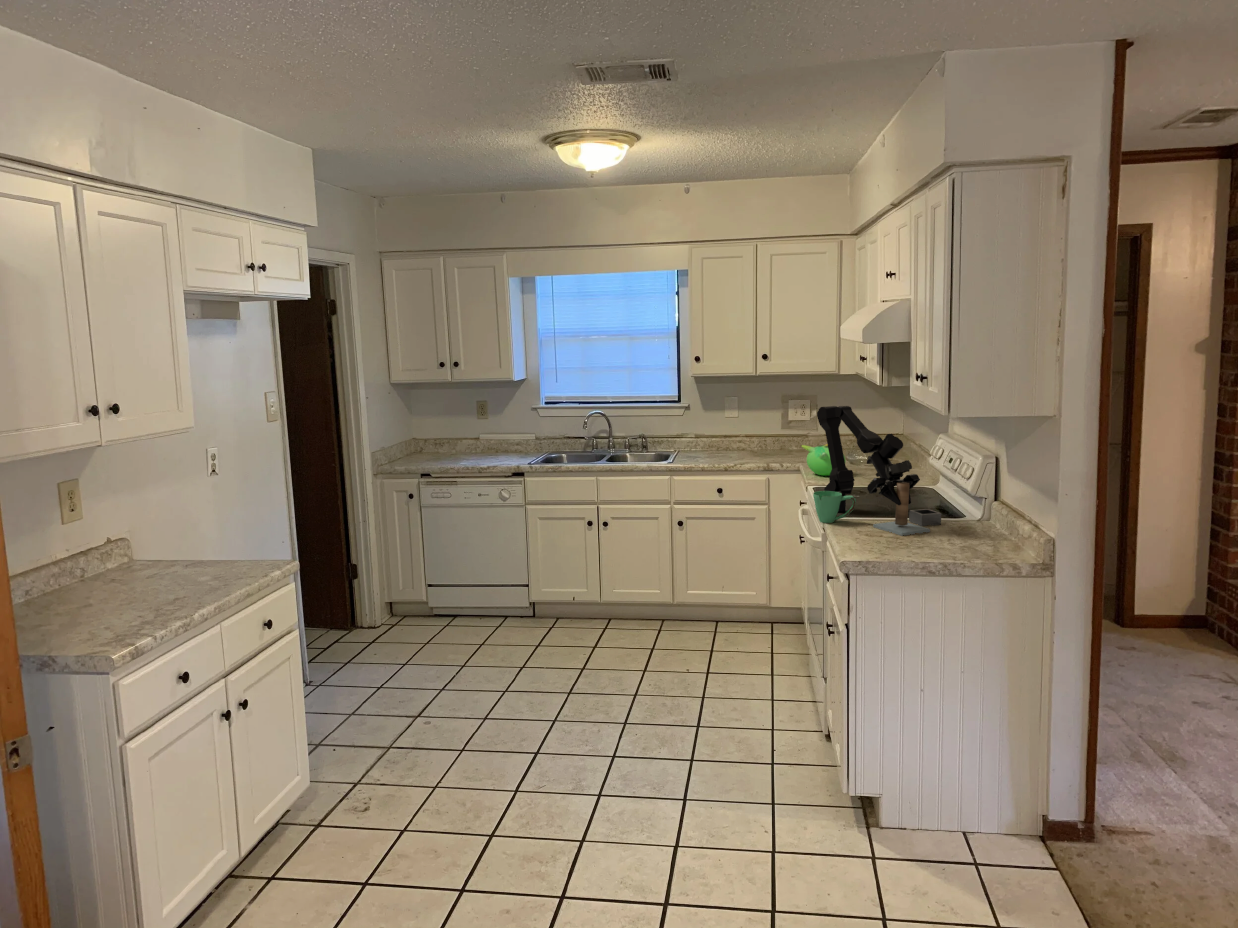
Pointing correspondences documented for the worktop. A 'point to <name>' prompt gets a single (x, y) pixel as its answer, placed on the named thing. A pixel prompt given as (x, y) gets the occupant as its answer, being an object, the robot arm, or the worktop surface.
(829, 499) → the mug
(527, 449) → the worktop surface
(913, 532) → the board
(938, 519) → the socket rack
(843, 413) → the robot arm
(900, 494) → the dowel
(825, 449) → the toy bird
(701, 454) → the worktop surface
